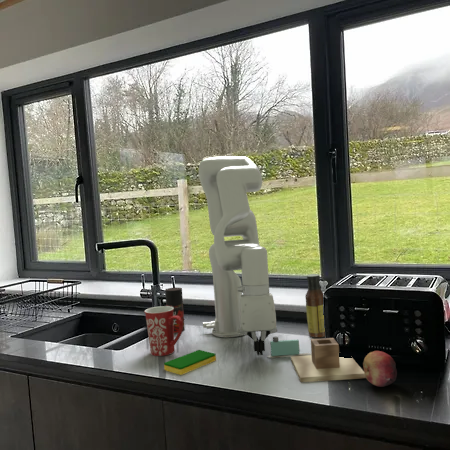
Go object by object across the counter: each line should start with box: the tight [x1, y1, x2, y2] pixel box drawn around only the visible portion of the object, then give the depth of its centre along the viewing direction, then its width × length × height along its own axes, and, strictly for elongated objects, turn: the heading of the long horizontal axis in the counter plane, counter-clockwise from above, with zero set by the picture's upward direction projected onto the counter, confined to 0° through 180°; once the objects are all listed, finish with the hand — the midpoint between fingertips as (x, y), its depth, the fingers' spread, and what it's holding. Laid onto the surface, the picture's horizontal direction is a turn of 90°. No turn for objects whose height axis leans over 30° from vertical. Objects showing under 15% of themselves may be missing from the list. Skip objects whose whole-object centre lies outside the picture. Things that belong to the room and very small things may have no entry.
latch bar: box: [269, 336, 300, 356], centre depth 139 cm, size 8×2×5 cm, turn 91°
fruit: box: [362, 350, 398, 388], centre depth 115 cm, size 8×8×8 cm
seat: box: [267, 352, 367, 383], centre depth 130 cm, size 22×21×4 cm
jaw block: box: [310, 337, 340, 369], centre depth 128 cm, size 6×6×6 cm
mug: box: [144, 305, 183, 357], centre depth 149 cm, size 13×9×14 cm
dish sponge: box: [163, 349, 217, 376], centre depth 137 cm, size 7×14×2 cm, turn 138°
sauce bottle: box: [304, 273, 326, 339], centre depth 157 cm, size 7×6×20 cm
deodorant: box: [165, 287, 185, 334], centre depth 174 cm, size 6×6×15 cm
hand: (259, 353), depth 139 cm, fingers closed
